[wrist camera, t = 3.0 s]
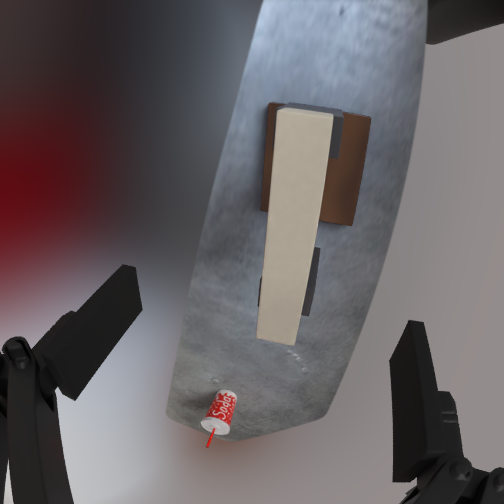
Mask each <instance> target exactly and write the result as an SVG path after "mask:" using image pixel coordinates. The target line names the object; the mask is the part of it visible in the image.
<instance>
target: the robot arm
mask: <svg viewBox="0 0 504 504" xmlns="http://www.w3.org/2000/svg"><path fill="white" fill-rule="evenodd" d="M141 311H142V304H141V298H140V292H139V286H138V280H137V275H136V268H135V267H132V266H128V265H122V266H121V267H120V268H119V269H118V270H117V271H116V272H115V273H114V274H113V275H112V276H111V277H110V278H109V279H108V280H107V281H106V282H105V283H104V284H103V285H102V286H101V287H100V288H99V289H98V290H97V291H96V292H95V293H94V294H93V295H92V296H91V297H90V298H89V299H88V300H87V301H86V302H85V303H84V304H83V306H82V307H80V309H79V310H78V311H77V312H74V311H70V312H68V313H66V314H65V315H63V316H62V317H61V318H60V319H59V320H58V321H57V322H56V324H55V325H53V326H52V328H50V331H48V332H47V333H46V334H45V335H44V336H43V337H42V338H41V339H40V340H39V341H38V343H37V344H36V345H35V346H34V347H33V348H32V349H31V348H30V346H29V344H28V342H27V341H26V339H25V338H23V337H13V338H10V339H9V340H8V341H6V342H5V344H4V345H3V347H2V351H3V353H4V354H1V352H0V504H3V502H4V491H5V481H6V473H7V465H8V458H9V470H10V480H11V488H12V496H13V502H14V504H74V502H73V498H72V494H71V489H70V485H69V480H68V475H67V470H66V465H65V459H64V454H63V447H62V441H61V434H60V426H59V418H58V408H57V397H56V393H55V389H56V388H57V387H59V389H60V391H61V392H62V394H63V395H65V396H67V397H69V398H71V399H73V400H74V401H75V400H76V399H77V398H78V396H79V395H80V393H81V392H82V391H83V389H84V388H85V387H86V385H87V384H88V382H89V381H90V380H91V378H92V377H93V375H94V374H95V372H96V371H97V370H98V368H99V367H100V366H101V364H102V363H103V362H104V360H105V359H106V358H107V356H108V355H109V353H110V352H111V351H112V349H113V348H114V347H115V345H116V344H117V343H118V341H119V340H120V339H121V337H122V336H123V335H124V333H125V332H126V330H127V329H128V328H129V327H130V325H131V324H132V323H133V322H134V320H135V319H136V318H137V316H138V315H139V314H140V312H141ZM389 363H390V376H391V391H392V413H393V482H411V481H412V480H414V479H415V478H416V477H417V485H416V486H415V487H413V488H412V489H411V490H410V491H408V492H407V493H406V494H407V496H406V497H405V498H404V499H403V500H402V501H401V503H400V504H504V468H501V467H499V468H496V469H494V470H493V471H492V472H490V473H489V472H486V471H482V470H479V469H475V468H473V467H472V465H471V462H470V461H469V460H468V459H467V458H465V457H464V455H463V450H462V442H461V435H460V428H459V424H458V416H457V410H456V404H455V401H454V399H453V397H452V396H451V394H450V392H446V391H438V388H437V383H436V377H435V372H434V367H433V362H432V357H431V352H430V348H429V343H428V339H427V335H426V330H425V326H424V322H419V321H412V320H409V321H408V323H407V325H406V327H405V330H404V332H403V334H402V336H401V338H400V341H399V342H398V344H397V347H396V349H395V350H394V353H393V354H392V357H391V358H390V360H389Z"/></svg>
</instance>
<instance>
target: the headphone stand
mask: <svg viewBox="0 0 504 504" xmlns="http://www.w3.org/2000/svg"><path fill="white" fill-rule="evenodd" d="M283 105H285V103H276V102H270V103H269V107H268V120H267V132H266V145H265V158H264V171H263V183H262V196H261V208H260V210H261V211H265V212H268V209H269V198H270V187H271V176H272V164H273V153H274V149H272V142H273V130H274V118H275V109H276V108H278V107H280V106H283ZM342 113H343V116H344V124H343V131H342V139H341V146H340V153H339V159H334V158H329V157H328V163H327V170H326V177H325V184H324V190H323V197H322V203H321V209H320V215H319V221H325V222H330V223H336V224H341V225H347V226H352V224H353V219H354V215H355V210H356V205H357V200H358V195H359V190H360V184H361V179H362V173H363V168H364V162H365V156H366V150H367V144H368V138H369V131H370V124H371V117H369V116H364V115H359V114H354V113H348V112H342Z"/></svg>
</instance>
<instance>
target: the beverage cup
mask: <svg viewBox="0 0 504 504" xmlns="http://www.w3.org/2000/svg"><path fill="white" fill-rule="evenodd" d="M236 401H237V396H236V394H234V393H233V392H231V391H229V390H225V389H221V390H219V391H218V392H217V394H216V396H215V398H214V400H213V402H212V404H211V406H210V408H209V410H208V412H207V414H206V416H205V418H203V420H202V422H201V425H202V426H203V428H204V429H206V430H207V431H209V432H211V436H210V438H209V441H208V443H207V446H206V447H207V448H208V447H209V445H210V442H211V440H212V437H213V434H218V435H226V434H228V433H229V430H230V423H231V419H232V416H233V412H234V409H235V405H236Z"/></svg>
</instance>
